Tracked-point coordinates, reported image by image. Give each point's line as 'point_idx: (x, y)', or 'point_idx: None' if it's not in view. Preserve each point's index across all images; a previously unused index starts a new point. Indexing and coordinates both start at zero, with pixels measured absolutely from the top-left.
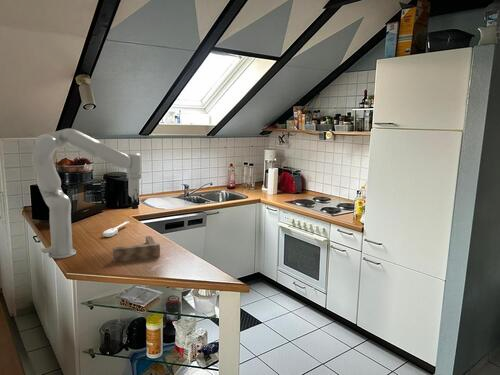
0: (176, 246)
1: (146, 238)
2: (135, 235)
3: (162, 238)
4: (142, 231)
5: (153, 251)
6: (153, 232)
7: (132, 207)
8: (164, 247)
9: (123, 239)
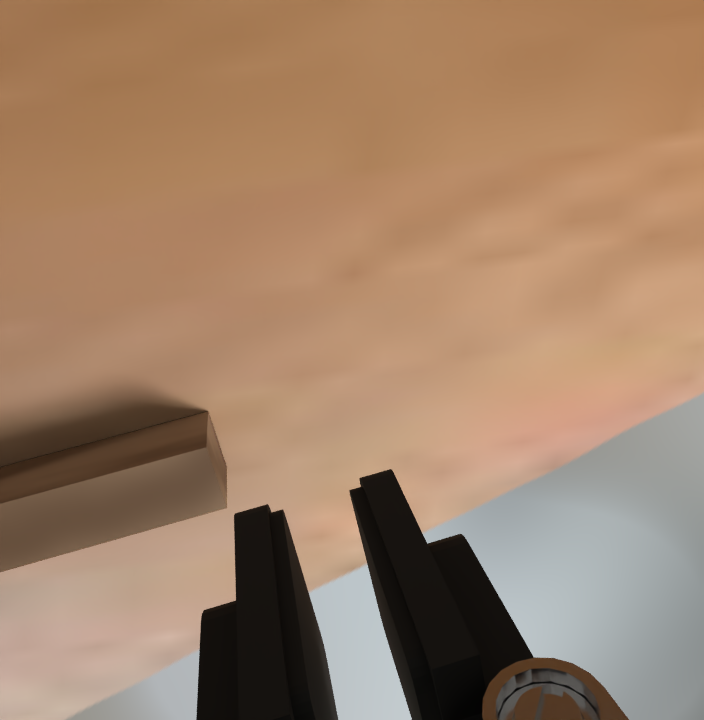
0: (57, 716)
1: (142, 460)
2: (519, 250)
3: (350, 558)
4: (664, 314)
5: None
6: (592, 440)
7: (240, 553)
8: (17, 620)
9: (367, 108)
